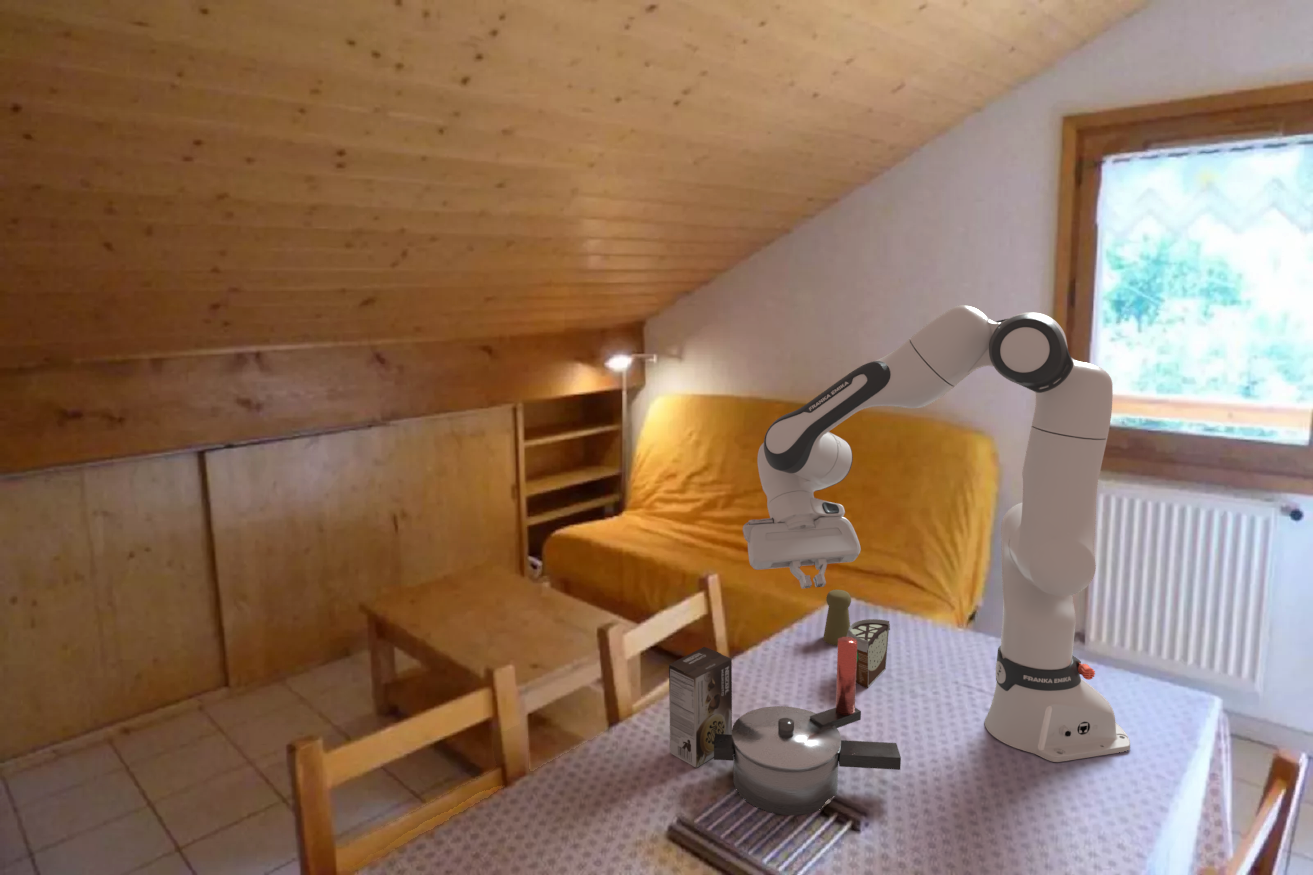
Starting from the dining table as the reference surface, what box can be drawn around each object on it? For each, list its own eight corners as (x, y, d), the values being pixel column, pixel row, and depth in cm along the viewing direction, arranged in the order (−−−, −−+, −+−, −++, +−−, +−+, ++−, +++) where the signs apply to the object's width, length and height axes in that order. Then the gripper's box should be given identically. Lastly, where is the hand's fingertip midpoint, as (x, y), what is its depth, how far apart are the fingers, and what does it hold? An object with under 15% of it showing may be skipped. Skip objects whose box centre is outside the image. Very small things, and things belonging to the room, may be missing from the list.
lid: (776, 784, 116) (777, 695, 113) (711, 729, 130) (711, 650, 128) (891, 739, 127) (895, 658, 124) (820, 693, 141) (822, 619, 138)
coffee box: (704, 732, 143) (704, 645, 140) (733, 746, 139) (733, 657, 135) (667, 753, 137) (667, 663, 134) (696, 769, 132) (696, 676, 129)
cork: (852, 646, 175) (853, 598, 173) (823, 644, 176) (824, 596, 174) (851, 634, 181) (853, 587, 179) (823, 632, 182) (824, 585, 180)
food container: (859, 658, 170) (861, 613, 168) (888, 666, 166) (890, 620, 164) (834, 682, 160) (836, 634, 158) (865, 691, 156) (867, 642, 154)
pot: (712, 810, 122) (712, 767, 121) (716, 749, 138) (716, 711, 136) (906, 822, 119) (908, 778, 117) (888, 758, 134) (890, 719, 133)
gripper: (744, 512, 147) (761, 583, 139) (851, 504, 151) (873, 573, 143) (736, 529, 152) (752, 598, 144) (840, 521, 156) (861, 588, 148)
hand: (813, 586), depth 144 cm, fingers closed
